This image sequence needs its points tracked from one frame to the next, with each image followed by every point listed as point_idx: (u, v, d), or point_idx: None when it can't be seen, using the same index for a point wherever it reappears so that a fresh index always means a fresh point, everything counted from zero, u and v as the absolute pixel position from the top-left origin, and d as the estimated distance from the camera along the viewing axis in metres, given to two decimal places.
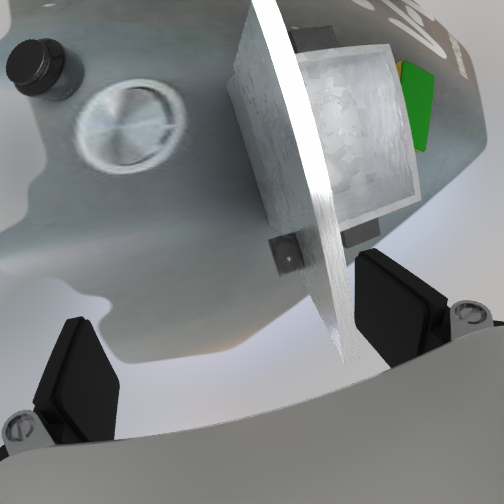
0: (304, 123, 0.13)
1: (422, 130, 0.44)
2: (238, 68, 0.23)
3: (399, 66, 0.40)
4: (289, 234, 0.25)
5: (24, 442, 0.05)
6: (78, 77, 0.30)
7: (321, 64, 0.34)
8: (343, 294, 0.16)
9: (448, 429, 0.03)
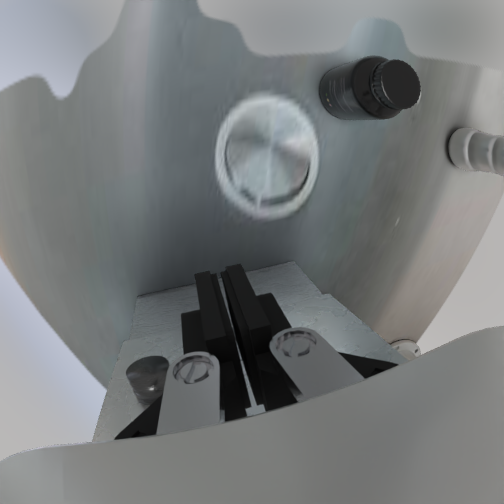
0: None
1: None
2: (338, 312, 0.26)
3: None
4: None
5: (188, 386, 0.06)
6: (341, 115, 0.33)
7: None
8: None
9: (448, 429, 0.03)
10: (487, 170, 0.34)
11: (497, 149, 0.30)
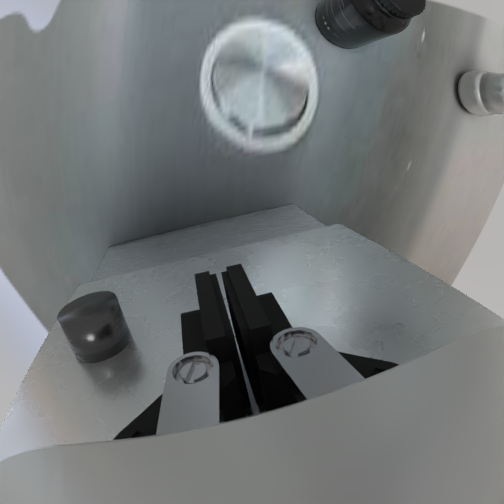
0: None
1: None
2: (355, 242, 0.20)
3: None
4: (128, 330, 0.14)
5: (187, 386, 0.06)
6: (341, 39, 0.27)
7: None
8: None
9: (448, 429, 0.03)
10: (502, 110, 0.28)
11: None
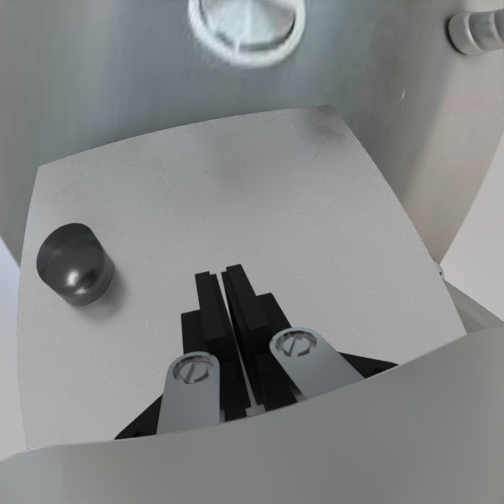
0: None
1: None
2: (348, 146, 0.18)
3: None
4: (109, 263, 0.13)
5: (188, 386, 0.06)
6: None
7: None
8: None
9: (448, 429, 0.03)
10: (493, 44, 0.24)
11: (499, 17, 0.20)
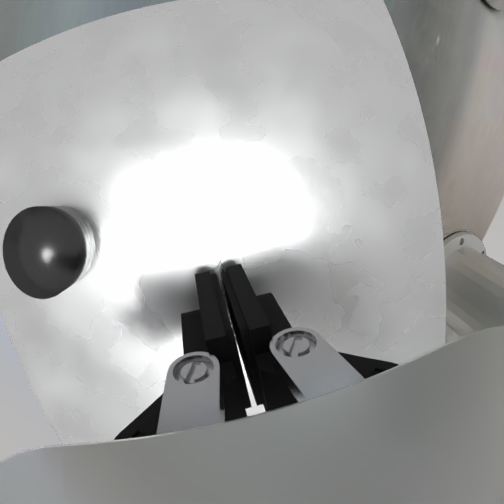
0: None
1: None
2: (395, 72, 0.12)
3: None
4: (89, 235, 0.10)
5: (188, 386, 0.06)
6: None
7: None
8: None
9: (448, 429, 0.03)
10: None
11: None
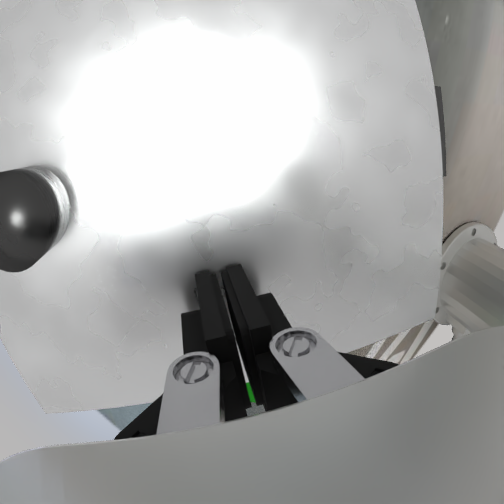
0: None
1: None
2: (407, 29, 0.10)
3: None
4: (63, 197, 0.09)
5: (188, 386, 0.06)
6: None
7: None
8: None
9: (448, 429, 0.03)
10: None
11: None
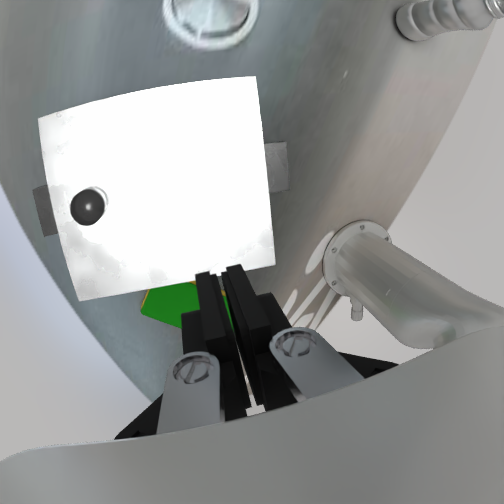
0: None
1: (165, 314, 0.43)
2: (250, 123, 0.27)
3: None
4: (105, 200, 0.26)
5: (188, 386, 0.06)
6: None
7: None
8: None
9: (448, 429, 0.03)
10: (433, 27, 0.31)
11: (437, 3, 0.27)
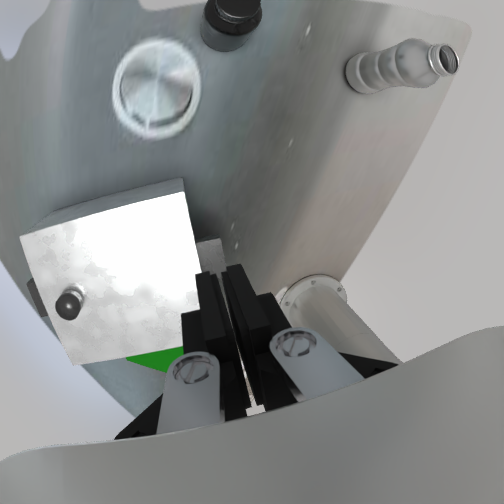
0: None
1: (146, 360, 0.50)
2: (183, 233, 0.34)
3: None
4: (81, 299, 0.33)
5: (188, 386, 0.06)
6: (215, 46, 0.36)
7: None
8: None
9: (448, 429, 0.03)
10: (380, 84, 0.37)
11: (382, 59, 0.33)
